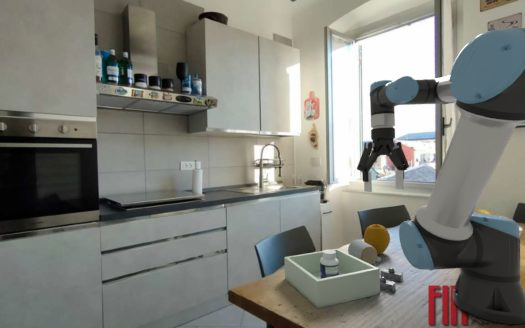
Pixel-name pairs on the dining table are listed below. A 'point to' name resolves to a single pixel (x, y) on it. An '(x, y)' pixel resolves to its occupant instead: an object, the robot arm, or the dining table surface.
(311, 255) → the bin
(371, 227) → the orange
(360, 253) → the ceramic mug
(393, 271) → the bracket
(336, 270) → the pill bottle
